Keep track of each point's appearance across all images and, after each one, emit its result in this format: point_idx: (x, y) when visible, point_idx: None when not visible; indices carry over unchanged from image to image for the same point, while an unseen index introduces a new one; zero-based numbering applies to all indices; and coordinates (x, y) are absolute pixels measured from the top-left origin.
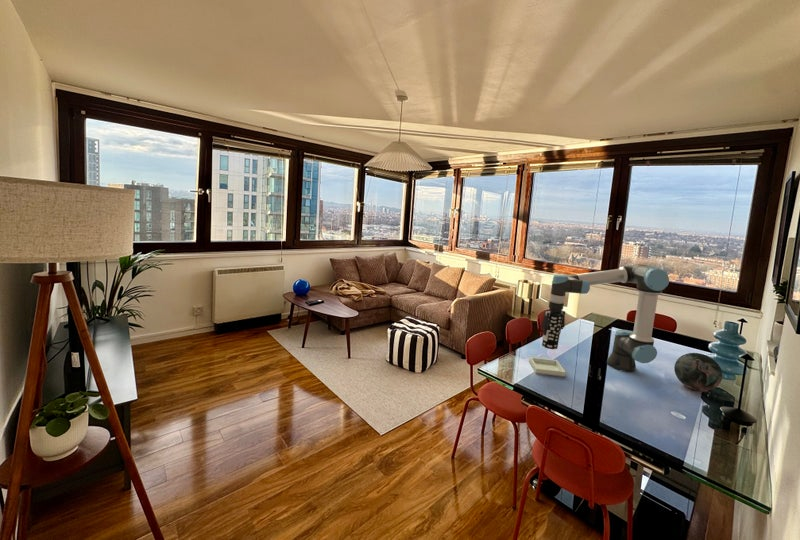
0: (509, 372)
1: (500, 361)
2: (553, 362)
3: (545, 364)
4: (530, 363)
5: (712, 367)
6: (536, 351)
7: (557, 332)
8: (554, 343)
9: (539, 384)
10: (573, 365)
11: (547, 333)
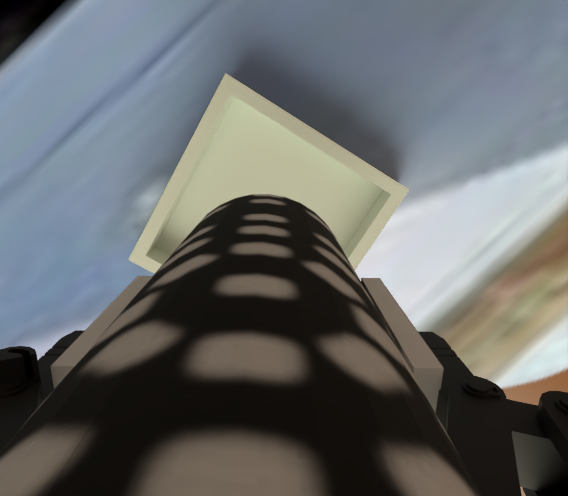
0: (550, 247)
1: None
2: (163, 257)
3: None
4: None
5: None
6: None
7: (263, 255)
8: (288, 211)
9: (505, 50)
10: (13, 206)
11: (413, 333)
